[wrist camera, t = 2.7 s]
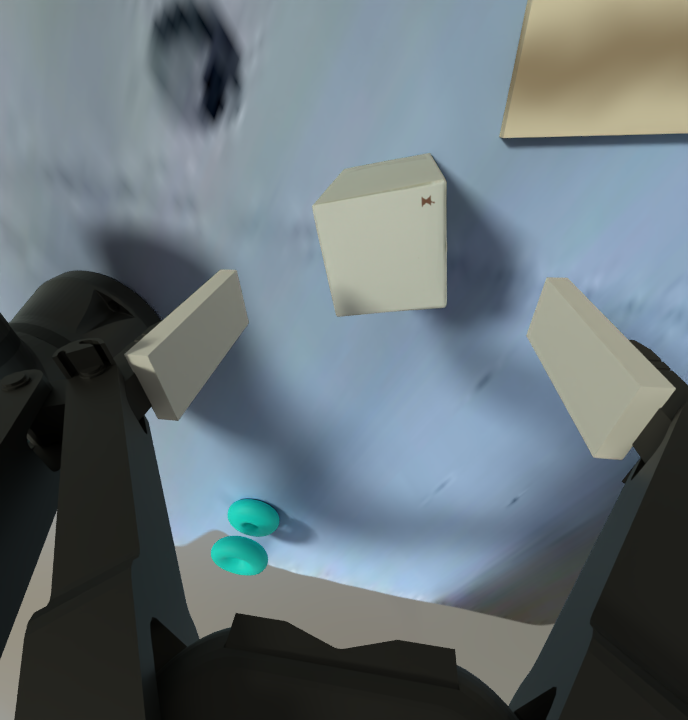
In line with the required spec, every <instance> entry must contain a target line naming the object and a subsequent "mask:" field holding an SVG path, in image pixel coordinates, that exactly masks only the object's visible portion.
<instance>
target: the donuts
mask: <svg viewBox="0 0 688 720" xmlns="http://www.w3.org/2000/svg"><path fill="white" fill-rule="evenodd" d="M228 520H229V522H230V524H231V525H232V526H233V527H234V528H235V529H236V530H238V531H239V532H241V533H244V534H246V535H250V536H256V537H261V536H267V535H269V534H271V533H273V532H274V531H275V530H276V529H277V528H278V526H279V515H278V513H277V512H276V510H275V509H274V508H272V507H271V506H270V505H268V504H266V503H264V502H262V501H258V500H253V499H242V500H238V501H236V502H234V503H233V504H232V505H231V506H230V508H229V510H228ZM211 557H212V559H213V561H214V562H215V564H216V565H218V566H219V567H220V568H222V569H224V570H226V571H229V572H232V573H235V574H239V575H256V574H259V573H260V572H262V571H263V570H264V569H265V568H266V566H267V563H268V555H267V553H266V551H265V549H264V548H263V547H262V546H261V545H260V544H259V543H257V542H256V541H254V540H252V539H249V538H246V537H241V536H227V537H224V538H221V539H220V540H218V541H217V542H216V543H215V544H214V545H213V547H212V550H211Z"/></svg>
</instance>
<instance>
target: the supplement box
mask: <svg viewBox="0 0 688 720" xmlns="http://www.w3.org/2000/svg"><path fill="white" fill-rule="evenodd" d="M446 191H447V181H446V179H445V178H444V176H443V174H442V173H441V171H440V169H439V168H438V166H437V164H436V162H435V161H434V159H433V157H432V156H431V154H430V153H427V154H422V155H416V156H411V157H405V158H400V159H394V160H388V161H383V162H378V163H373V164H368V165H362V166H357V167H352V168H347V169H344V170H343V171H342V172H341V173H340V174H339V176H338V177H337V178H336V179H335V180H334V181H333V183H332V184H331V185H330V186H329V187H328V188H327V190H326V191H325V192H324V193H323V194H322V195H321V197H320V198H319V199H318V200H317V201H316V202H315V204H314V205H313V206H312V208H313V213H314V218H315V223H316V228H317V233H318V237H319V242H320V246H321V250H322V255H323V259H324V264H325V268H326V273H327V277H328V282H329V286H330V290H331V295H332V299H333V303H334V307H335V312H336V316H337V317H340V316H350V315H361V314H371V313H381V312H392V311H406V310H421V309H434V308H444V307H446V304H447V232H446Z"/></svg>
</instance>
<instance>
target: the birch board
mask: <svg viewBox="0 0 688 720" xmlns="http://www.w3.org/2000/svg"><path fill="white" fill-rule="evenodd" d="M677 133H688V0H528V1H527V6H526V11H525V16H524V21H523V26H522V30H521V35H520V40H519V45H518V50H517V54H516V59H515V64H514V69H513V74H512V79H511V83H510V88H509V93H508V98H507V103H506V107H505V112H504V117H503V122H502V127H501V132H500V136H499V137H501V138H522V137H561V136H600V135H638V134H677Z"/></svg>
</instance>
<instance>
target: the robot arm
mask: <svg viewBox="0 0 688 720" xmlns="http://www.w3.org/2000/svg"><path fill="white" fill-rule="evenodd" d="M248 323H249V321H248V317H247V313H246V308H245V304H244V300H243V295H242V291H241V287H240V283H239V278H238V274H237V270H220V271H218V272H217V273H216V274H215V275H214V276H213V277H212V278H210V279H209V280H208V281H207V282H206V283H205V284H204V285H202V286H201V287H200V288H199V289H198V290H197V291H196V292H195V293H193V294H192V295H191V296H190V297H189V298H188V299H187V300H185V301H184V302H183V303H182V304H181V305H180V306H179V307H177V308H176V309H175V310H174V311H173V312H172V313H171V314H169V315H168V316H167V317H166V318H165V319H164V320H161V321H160V319H159V318H158V316H157V315H156V313H155V312H154V311H153V310H152V308H151V307H150V306H149V305H148V304H147V303H146V302H145V301H144V300H143V299H142V298H141V297H139V296H138V295H137V294H136V293H135V292H133V291H132V290H130V289H129V288H127V287H126V286H124V285H123V284H121V283H119V282H117V281H115V280H113V279H111V278H109V277H107V276H104V275H101V274H98V273H94V272H89V271H69V272H65V273H63V274H60V275H58V276H56V277H54V278H52V279H50V280H48V281H46V282H45V283H43V284H42V285H41V286H40V287H39V288H38V289H37V290H36V291H35V293H34V294H33V295H32V296H31V297H30V298H29V300H28V301H27V302H26V303H25V304H24V306H23V307H22V308H21V309H20V311H19V312H18V313H17V314H16V315H15V317H14V318H13V319H12V320H11V321H10V322H9V323H8V322H7V321H6V319H5V318H4V317H3V315H2V314H1V313H0V658H1V656H2V653H3V651H4V648H5V645H6V643H7V640H8V637H9V635H10V632H11V630H12V627H13V624H14V622H15V619H16V616H17V614H18V611H19V609H20V606H21V603H22V601H23V598H24V595H25V593H26V590H27V587H28V585H29V582H30V580H31V577H32V574H33V572H34V569H35V566H36V564H37V561H38V559H39V556H40V553H41V550H42V548H43V545H44V543H45V540H46V538H47V535H48V532H49V529H50V527H51V524H52V522H53V519H54V516H55V514H56V511H57V521H56V522H57V523H56V536H55V548H54V562H53V575H52V589H51V597H50V601H49V603H48V605H47V606H46V607H44V608H42V609H40V610H38V611H36V612H35V613H34V614H33V615H32V617H31V619H30V620H29V622H28V624H27V629H26V633H25V637H24V644H23V653H22V661H21V669H20V678H19V686H18V694H17V703H16V711H15V719H14V720H688V385H687V384H686V383H685V382H684V381H683V380H682V379H681V378H680V377H679V376H678V375H677V374H675V373H674V372H673V371H670V368H669V367H668V366H667V365H666V364H665V363H664V362H661V359H660V358H659V357H658V356H657V355H656V354H655V353H654V352H653V351H652V350H651V349H649V348H647V347H645V346H644V345H642V344H640V343H638V342H637V341H635V340H628V339H627V338H626V337H625V336H624V335H623V334H622V333H621V332H620V331H619V330H618V329H617V328H616V327H615V326H614V325H613V324H612V323H611V322H610V321H609V320H608V319H607V318H606V317H605V316H604V315H603V314H602V313H601V312H600V311H599V310H598V309H597V308H596V307H595V306H594V305H593V304H592V303H591V302H590V301H589V300H588V298H587V297H586V296H585V295H584V294H583V293H582V292H581V291H580V290H579V289H578V288H577V287H576V286H575V285H574V284H573V283H572V282H571V281H570V280H569V279H568V278H546V281H545V284H544V287H543V290H542V293H541V295H540V298H539V301H538V304H537V307H536V310H535V313H534V315H533V318H532V321H531V324H530V327H529V330H528V333H527V335H526V336H527V338H528V339H529V341H530V343H531V345H532V347H533V348H534V350H535V352H536V354H537V356H538V358H539V359H540V361H541V363H542V365H543V367H544V368H545V370H546V372H547V374H548V376H549V378H550V379H551V381H552V383H553V385H554V387H555V389H556V390H557V392H558V394H559V396H560V398H561V399H562V401H563V403H564V405H565V407H566V409H567V410H568V412H569V414H570V416H571V418H572V419H573V421H574V423H575V425H576V427H577V429H578V430H579V432H580V434H581V436H582V438H583V439H584V441H585V443H586V445H587V447H588V449H589V450H590V452H591V454H592V456H593V458H605V459H616V460H623V458H624V457H625V456H626V454H627V453H628V452H629V450H630V449H631V448H632V446H633V447H634V448H635V450H636V451H637V453H638V454H639V455H640V457H641V458H640V459H639V460H638V462H637V463H636V464H635V465H634V467H633V468H632V469H631V470H630V472H629V473H628V474H627V475H626V477H625V478H624V479H623V480H622V482H623V483H625V485H624V487H623V489H622V491H621V493H620V495H619V497H618V499H617V501H616V503H615V505H614V507H613V509H612V511H611V513H610V515H609V517H608V519H607V521H606V523H605V525H604V527H603V529H602V531H601V533H600V535H599V537H598V539H597V541H596V543H595V545H594V547H593V549H592V551H591V553H590V555H589V557H588V559H587V561H586V563H585V565H584V567H583V569H582V571H581V573H580V575H579V577H578V579H577V581H576V583H575V585H574V587H573V589H572V591H571V593H570V595H569V597H568V599H567V601H566V603H565V605H564V607H563V609H562V611H561V613H560V615H559V617H558V619H557V621H556V623H555V625H554V627H553V629H552V631H551V633H550V635H549V637H548V639H547V641H546V643H545V645H544V647H543V649H542V651H541V653H540V655H539V657H538V659H537V660H536V662H535V664H534V666H533V668H532V669H531V671H530V673H529V674H528V675H527V677H526V678H525V679H524V681H523V682H522V684H521V685H520V687H519V688H518V690H517V692H516V693H515V695H514V697H513V699H512V700H511V702H510V704H509V706H507V704H506V703H505V702H504V701H503V700H502V699H501V698H500V697H499V696H498V695H497V694H496V693H495V692H494V691H493V690H492V689H491V688H489V687H488V686H487V685H486V684H485V683H484V682H482V681H481V680H480V679H479V678H477V677H476V676H474V675H473V674H471V673H470V672H468V671H467V670H466V669H463V668H462V667H460V666H458V665H456V655H455V649H450V648H443V647H438V646H431V645H425V644H419V643H413V642H407V641H401V640H394V641H388V642H382V643H376V644H371V645H364V646H358V647H352V648H347V649H337V648H334V647H332V646H330V645H329V644H327V643H325V642H323V641H321V640H319V639H318V638H315V637H314V636H312V635H310V634H308V633H306V632H305V631H303V630H301V629H299V628H297V627H295V626H294V625H292V624H290V623H288V622H286V621H280V620H274V619H269V618H262V617H257V616H251V615H245V614H238V613H236V614H235V617H234V620H233V623H232V626H231V628H226V629H223V630H220V631H217V632H214V633H212V634H210V635H207V636H205V637H203V638H202V639H199V636H198V633H197V630H196V627H195V625H194V623H193V620H192V618H191V616H190V614H189V611H188V608H187V604H186V599H185V595H184V590H183V585H182V580H181V575H180V571H179V566H178V561H177V556H176V551H175V547H174V542H173V537H172V532H171V527H170V523H169V518H168V513H167V508H166V503H165V499H164V494H163V489H162V484H161V479H160V475H159V470H158V465H157V460H156V455H155V451H154V446H153V441H152V436H151V431H150V427H149V422H148V420H147V418H146V417H145V414H146V412H147V411H148V410H149V409H150V408H151V407H152V409H153V411H154V412H155V414H156V416H157V418H158V419H164V420H176V421H179V419H180V418H181V416H182V415H183V414H184V412H185V411H186V409H187V408H188V407H189V405H190V404H191V403H192V401H193V400H194V398H195V397H196V396H197V394H198V393H199V391H200V390H201V389H202V387H203V386H204V384H205V383H206V382H207V380H208V379H209V378H210V376H211V375H212V373H213V372H214V371H215V369H216V368H217V366H218V365H219V364H220V362H221V361H222V359H223V358H224V357H225V355H226V354H227V353H228V351H229V350H230V348H231V347H232V346H233V344H234V343H235V341H236V340H237V339H238V337H239V336H240V335H241V333H242V332H243V330H244V329H245V328H246V326H247V325H248Z"/></svg>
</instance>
